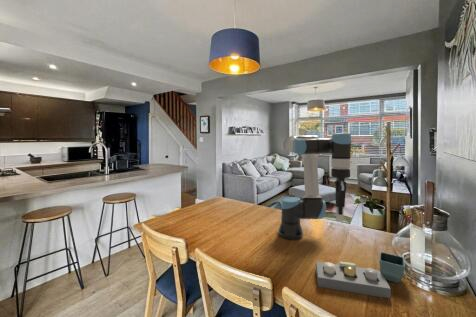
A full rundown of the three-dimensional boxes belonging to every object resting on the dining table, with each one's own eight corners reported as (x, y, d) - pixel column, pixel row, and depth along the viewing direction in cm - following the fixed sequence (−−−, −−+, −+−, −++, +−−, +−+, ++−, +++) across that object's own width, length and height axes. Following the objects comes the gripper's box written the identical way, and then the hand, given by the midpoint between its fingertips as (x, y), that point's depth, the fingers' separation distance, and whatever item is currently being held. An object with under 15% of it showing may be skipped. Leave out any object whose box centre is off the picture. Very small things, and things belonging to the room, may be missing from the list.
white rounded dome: (366, 285, 88) (366, 273, 88) (363, 278, 92) (363, 267, 92) (378, 286, 87) (379, 275, 86) (375, 280, 91) (375, 268, 91)
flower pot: (378, 269, 101) (379, 251, 100) (402, 276, 96) (403, 257, 95) (378, 279, 93) (379, 260, 93) (403, 287, 88) (405, 266, 88)
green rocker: (340, 267, 95) (340, 263, 95) (339, 265, 98) (339, 261, 98) (355, 270, 93) (355, 265, 94) (354, 267, 96) (354, 263, 96)
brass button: (344, 281, 90) (345, 270, 90) (342, 275, 94) (343, 264, 94) (356, 283, 89) (357, 271, 88) (354, 276, 93) (354, 265, 93)
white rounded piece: (324, 278, 92) (324, 267, 92) (323, 272, 97) (323, 261, 96) (335, 280, 91) (335, 268, 91) (333, 273, 95) (334, 263, 95)
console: (318, 286, 90) (318, 277, 89) (315, 269, 101) (316, 261, 101) (390, 298, 82) (390, 288, 82) (379, 278, 94) (379, 270, 94)
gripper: (353, 170, 88) (352, 226, 89) (347, 166, 100) (345, 216, 102) (333, 169, 90) (332, 225, 91) (329, 166, 102) (328, 215, 104)
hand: (339, 220), depth 96 cm, fingers closed
